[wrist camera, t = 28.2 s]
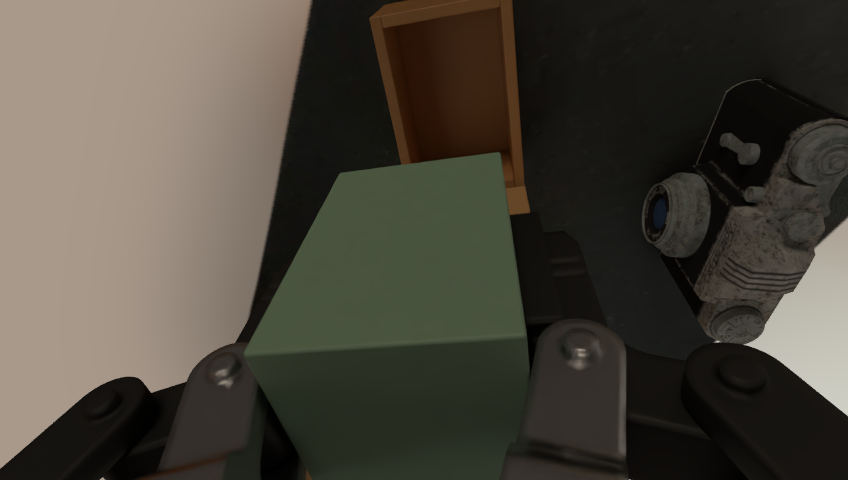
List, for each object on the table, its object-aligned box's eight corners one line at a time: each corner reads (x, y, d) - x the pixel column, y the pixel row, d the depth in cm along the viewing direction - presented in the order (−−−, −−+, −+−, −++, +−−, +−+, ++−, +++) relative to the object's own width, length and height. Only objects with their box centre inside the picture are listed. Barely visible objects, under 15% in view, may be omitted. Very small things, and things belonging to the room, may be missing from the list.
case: (384, 4, 28) (368, 18, 24) (504, -19, 27) (511, -10, 22) (416, 166, 34) (409, 200, 29) (517, 152, 32) (524, 186, 28)
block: (339, 172, 12) (240, 354, 7) (500, 150, 11) (527, 335, 6) (376, 294, 14) (323, 501, 9) (512, 282, 13) (539, 499, 8)
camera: (680, 71, 29) (766, 129, 20) (792, 79, 28) (926, 140, 20) (614, 262, 37) (656, 358, 29) (700, 269, 37) (768, 369, 28)
